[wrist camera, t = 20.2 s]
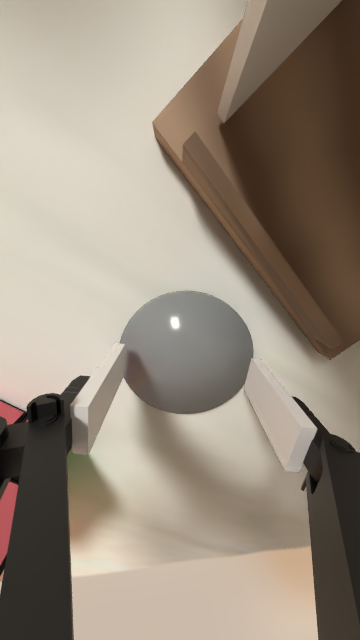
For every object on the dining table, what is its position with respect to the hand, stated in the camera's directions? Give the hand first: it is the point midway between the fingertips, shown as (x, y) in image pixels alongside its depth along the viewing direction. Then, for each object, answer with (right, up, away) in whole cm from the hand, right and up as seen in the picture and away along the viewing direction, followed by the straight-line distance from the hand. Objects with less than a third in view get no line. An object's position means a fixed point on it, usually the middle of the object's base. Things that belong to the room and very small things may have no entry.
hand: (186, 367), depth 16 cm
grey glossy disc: (0, +1, +2) cm, 2 cm away
